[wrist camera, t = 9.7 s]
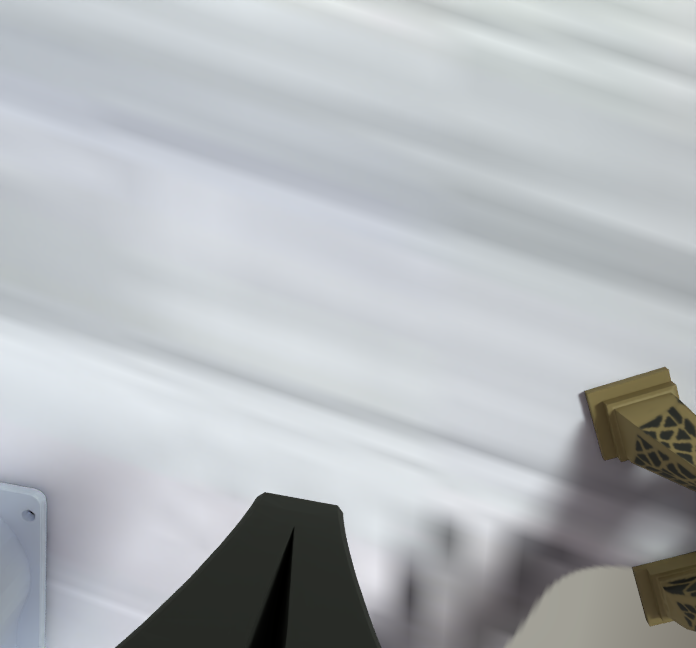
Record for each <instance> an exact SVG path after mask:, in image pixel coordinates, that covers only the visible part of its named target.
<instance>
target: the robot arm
mask: <svg viewBox="0 0 696 648" xmlns="http://www.w3.org/2000/svg"><path fill="white" fill-rule="evenodd" d="M29 510H30V511H32V512H33V513H34V514H35V515H33V514H31V513H30V512H29ZM46 520H47V501H46V497H45V495H44V494H43V493H42V492H41V491H39V490H37V489H34V488H29V487H24V486H18V485H13V484H7V483H2V482H0V648H45V621H46ZM115 648H381V646H380V643H379V641H378V638H377V636H376V633H375V630H374V628H373V625H372V622H371V619H370V617H369V614H368V611H367V608H366V605H365V602H364V599H363V596H362V593H361V590H360V587H359V584H358V580H357V577H356V574H355V570H354V567H353V563H352V559H351V555H350V551H349V547H348V543H347V538H346V533H345V527H344V520H343V512H342V511H341V509H340V508H339V507H338V506H337V505H332V504H326V503H321V502H315V501H310V500H304V499H299V498H293V497H288V496H282V495H277V494H272V493H266V492H265V493H263V494H261V495H260V496H258V497H257V498H256V499H255V501H254V503H253V504H252V506H251V507H250V508H249V510H248V511H247V513H246V514H245V515H244V517H243V518H242V519H241V520H240V522H239V523H238V524H237V525H236V527H235V528H234V529H233V530H232V531H231V533H230V534H229V535H228V536H227V537H226V539H225V540H224V541H223V542H222V543H221V545H220V546H219V547H218V548H217V549H216V550H215V551H214V552H213V553H212V554H211V555H210V557H209V558H208V559H207V560H206V561H205V562H204V563H203V564H202V565H201V566H200V567H199V569H198V570H197V571H196V572H195V573H194V574H193V575H192V576H191V577H190V578H189V579H188V580H187V581H186V582H185V583H184V584H183V585H182V586H181V587H180V588H179V589H178V590H177V591H176V592H175V593H174V594H173V595H172V596H171V597H170V598H169V599H168V600H167V601H166V602H165V603H163V604H162V605H161V606H160V607H159V608H158V609H157V610H156V611H155V612H154V613H153V614H152V615H151V616H150V617H149V618H148V619H147V620H146V621H145V622H144V623H143V624H141V625H140V626H139V627H138V628H137V629H136V630H135V631H134V632H132V633H131V634H130V635H129V636H128V637H127V638H126V639H125V640H123V641H122V642H121V643H120V644H119V645H118V646H116V647H115Z"/></svg>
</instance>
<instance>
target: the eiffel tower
mask: <svg viewBox="0 0 696 648" xmlns="http://www.w3.org/2000/svg"><path fill="white" fill-rule="evenodd" d="M585 395H586V399H587V402H588V406H589V410H590V413H591V417H592V421H593V424H594V428H595V432H596V435H597V439H598V443H599V446H600V450H601V454H602V457H603V459H604V460H609V459H612V458H616V457H618V459H619V460H620V461H621V462H623V461H627V460H630V461H631V463H633V464H636V465H638V466H640V467H642V468H644V469H647V470H649V471H651V472H653V473H656V474H658V475H660V476H662V477H664V478H667V479H669V480H671V481H673V482H676V483H678V484H680V485H682V486H684V487H687V488H689V489H691V490H693V491H696V415H695V414H694V413H693V412H692V411H691V410H690V409H689V408H688V407H687V406H686V405H684V404H683V403H682V402H681V401H680V400H679V395H678V391H677V386H676V384H674V383H673V382H672V381H671V378H670V374H669V369H667V368H666V367H663V368H660V369H656V370H653V371H650V372H646V373H643V374H640V375H636V376H633V377H630V378H626V379H623V380H620V381H616V382H613V383H610V384H606V385H603V386H600V387H596V388H593V389H590V390H586V391H585ZM632 570H633V574H634V577H635V581H636V585H637V588H638V592H639V596H640V600H641V603H642V606H643V610H644V614H645V618H646V621H647V622H648V624H649V626H653V625H658V624H662V623H667V622H671V621H675V622H677V623H678V624H680V625H681V626H683V627H684V628H686V629H689V630H692V631H696V552H692V553H688V554H684V555H680V556H676V557H672V558H668V559H664V560H660V561H656V562H652V563H648V564H644V565H640V566H636V567H632Z"/></svg>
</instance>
